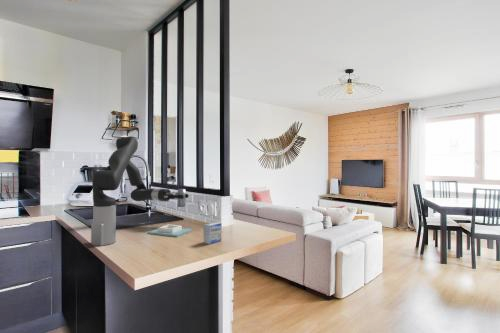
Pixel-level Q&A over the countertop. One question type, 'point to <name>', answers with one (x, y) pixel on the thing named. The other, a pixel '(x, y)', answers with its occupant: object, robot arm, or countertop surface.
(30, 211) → the countertop surface
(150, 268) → the countertop surface
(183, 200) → the metal hub
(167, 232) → the housing tray
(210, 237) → the medicine box
